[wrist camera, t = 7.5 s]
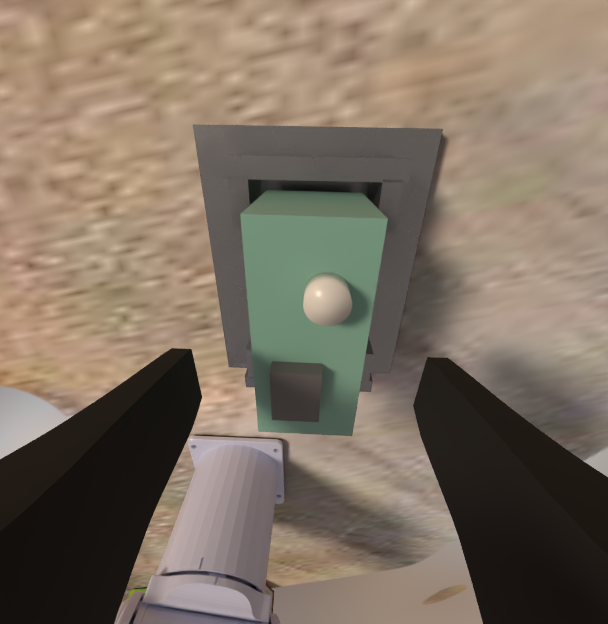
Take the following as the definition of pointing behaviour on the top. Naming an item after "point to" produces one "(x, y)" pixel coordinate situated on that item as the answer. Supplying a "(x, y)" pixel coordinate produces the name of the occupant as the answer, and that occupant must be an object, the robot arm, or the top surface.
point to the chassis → (324, 178)
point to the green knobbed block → (310, 305)
